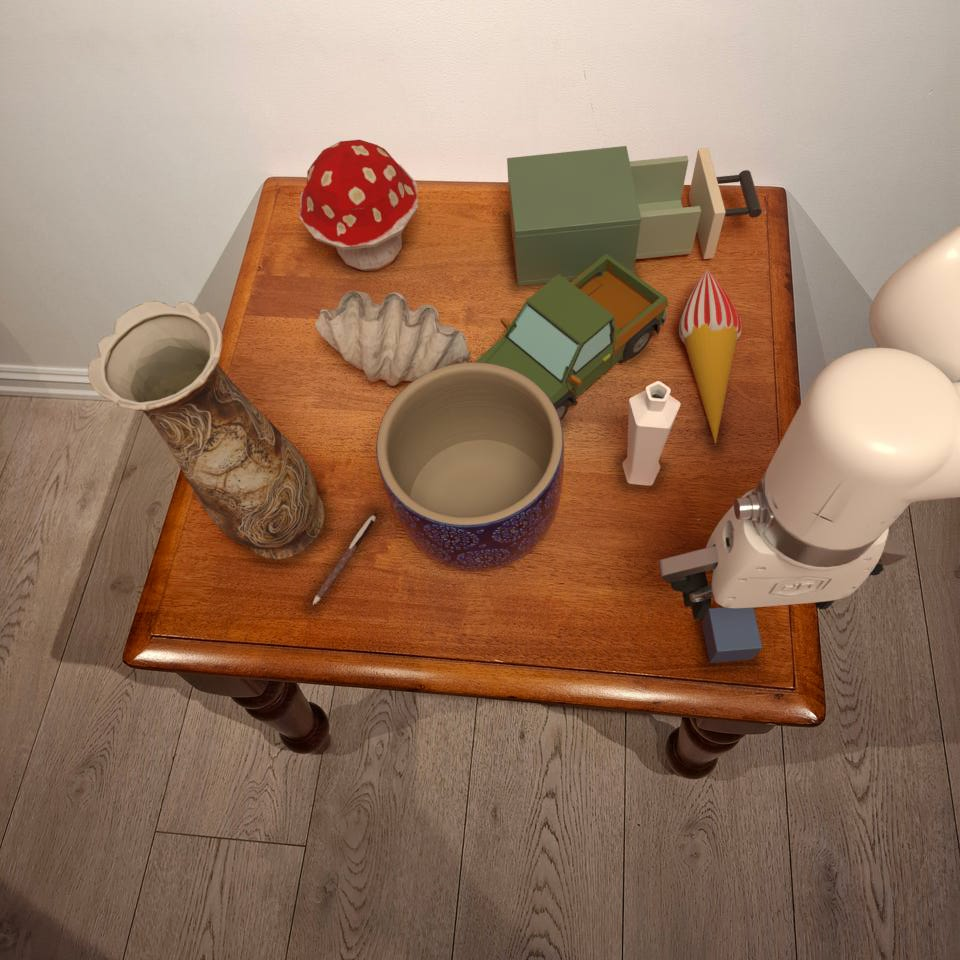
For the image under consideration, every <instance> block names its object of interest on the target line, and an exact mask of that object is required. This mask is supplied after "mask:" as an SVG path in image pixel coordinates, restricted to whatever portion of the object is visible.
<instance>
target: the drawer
mask: <svg viewBox="0 0 960 960" xmlns="http://www.w3.org/2000/svg"><path fill="white" fill-rule="evenodd" d="M629 161H630V160H629ZM688 165H689V156H688V155H679V156H670V157H660V158H650V159H641V160H640V159H639V160H631V161H630V166H631V171H632V176H633V181H634V186H635V191H636V196H637V201H638V205H639V210H640V215H641V224H640V231H639V238H638V245H637V252H636V259H635V260H640V259H641V260H643V259H652V258H662V257H673V256H682V255H691V254H693V250H694V243H695V240H696V236H697V238H698V241H699V245H700V249H701V250H700V251H701V254H702V258H703V260H706V259H707V260H708V259H715V254H716V251H717V246H718V243H719V239H720V236H721V231H722V229H723V228H722V227H723V223H724V220H725V218H726V217H727V218H728V217H736V216H746V215H748V216H749V217H750V218H751V219H754V218H758V217H760V216H761V214H762V212H763V211H762V207H761V203H760V200H759V196H758V193H757V189H756V187H755V183H754V180H753V176H752V172H751V171H750V170H749V169H745V170H744V169H743V170H742V171H740V172H739V173H738V174H734V175H733V174H732V175H723V176H717V174H716V171H715V166H714V163H713V159H712V155H711V152H710V148H709V147H701V148H698V149H697V153H696V159H695V163H694V168H693V173H692V178H691V182H690V187H689V192H688V200H689V203H690V206H686V207H683V204H682V196H683V190H684V185H685V181H686V176H687V170H688ZM733 183H734V184H735V183H739V185H740V188H741V192H742V195H743V198H744V203H745V206H746V207H745V206H744V207H734V208H725V204H724V201H723V197H722V193H721V190H720V186H719V185H722V184H733ZM696 234H697V235H696Z"/></svg>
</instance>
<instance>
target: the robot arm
mask: <svg viewBox="0 0 960 960" xmlns="http://www.w3.org/2000/svg"><path fill="white" fill-rule="evenodd" d="M868 315H869V316H868V326H869V331H870V334H871V336H872V339H873V341H874V343H875V345H876V346H877V347H868V348H861V349H856V350H853V351H850V352H848V353H846V354H843V355H841V356H840V357H837V358H836V359H834V360H832V361H831V362H830V363H829V364H827V365H826V366H825V367H824V368H823V369H822V370H821V371H820V372H819V373H818V374H817V376H816V377H815V378H814V380H813V382H812V383H811V384H810V386H809V388H808V390H807V392H806V393H805V395H804V396H803V399H802V401H801V403H800V405H799V406H798V409H797V410H796V412H795V414H794V416H793V418H792V419H791V422H790V424H789V425H788V428H787V430H786V431H785V434H783V437H782V439H781V440H780V443H779V445H778V446H777V449H776V451H775V453H774V455H773V457H772V459H771V461H770V462H769V464H768V465H767V468H766V469H765V471H764V473H763V475H762V477H761V478H760V479H759V481H758V484H757V485H756V487H755V488H753V489H750V490H748V491H747V492H746V493H744V494H743V495H742V496H741V497H735V499H733V500H734V501H733V505H732V506H731V507H730V508H729V509H728V510H727V511H726V513H725V514H724V516H723V517H722V518H721V519H720V520H719V521H718V524H717V525H716V526H715V528H714V530H713V532H712V533H711V535H710V536H709V539H708V541H707V543H706V546H705V548H702V549H701V548H700V549H697V550H693V551H690V552H689V551H688V552H686V553H682V554H679V555H674V556H671V557H667V558H662V559H660V560H658V562H657V563H658V570H659V576H660V578H661V580H662V581H664V582H665V583H666V584H669V585H670V587H671V590H673V591H675V592H679V593H682V599H683V604H684V607H686V608H687V607H691V612H692V617H693V620H703V618H704V616H705V614H706V613H707V611H708V609H709V608H711V605H712V598H713V599H714V601H715V603H716V604H717V605H719V606H721V607H726V608H752V607H754V608H763V607H764V608H765V607H777V606H778V607H779V606H789V605H790V606H791V605H803V604H812V603H813V604H815V608H817V609H818V610H828V608H830V607H831V605H832V604H833V603H834V602H835V601H836V600H837V601H838V600H841V599H845V598H848V597H850V596H851V595H852V594H853V593H854V592H855V591H857V590H858V589H859V588H860V587H861V585H863V583H864V582H865V581H866V580H867V579H868V577H870V576H878V575H880V574H881V573H882V572H883V571H884V566H888V567H889V566H890V565H893V564H895V563H898V562H899V561H901V560H904V559H906V558H908V555H907V552H906V551H907V550H906V547H905V545H904V542H903V539H900V538H893V537H888V535H889V531H890V526H891V525H892V524H893V523H894V522H895V521H896V520H897V519H898V518H899V517H900V516H901V515H902V514H903V512H904V511H905V510H907V508H908V507H909V506H910V505H911V504H912V503H916V502H924V501H933V500H943V499H955V498H960V224H959V225H957V226H956V227H954V228H953V229H951V230H950V231H948V232H947V233H945V234H944V235H942V236H940V237H939V238H938V239H936V240H935V241H934V242H932V243H930V244H929V245H927V246H926V247H924V248H923V249H922V250H921V251H919V252H918V253H916V255H914V256H913V257H911V258H910V259H909V260H907V261H906V262H905V263H904V264H903V265H901V266H900V267H899V268H898V269H897V270H895V271H894V273H892V274H891V276H890V277H889V278H888V279H887V280H886V281H885V283H883V285H882V286H881V287H880V289H879V290H878V291H877V293H876V295H875V296H874V298H873V301H872V302H871V305H870V309H869V314H868ZM707 571H710V572H711V584H709V582H708V577H707Z"/></svg>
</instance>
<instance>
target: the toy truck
mask: <svg viewBox="0 0 960 960" xmlns="http://www.w3.org/2000/svg"><path fill="white" fill-rule="evenodd" d="M668 300H669V299H668V297H667V296H666V295H664V294H663V293H661V292H660V291H659V290H658V289H656V288H654V287H653V286H652V285H650V284H649V283H648V282H646V281H645V280H643V279H642V278H641V277H639V276H638V275H637V274H635V272H634V273H632V272H631V271H630V270H628V269H627V268H625V267H624V266H623V265H621V264H620V263H619V262H617V261H616V260H614V259H613V258H612V257H610V256H609V255H608V254H605V255H604V256H602V257H601V258H600V259H599V260H597V261H596V262H595V263H594V264H592V265H591V266H590V267H589V268H588V269H586V270H585V271H584V272H583V273H581V274H580V275H579V276H578V277H576V278H575V279H574V280H573V281H568V280H567V279H565V278H564V277H563V276H561V275H560V274H558V275H557V276H556V277H555V278H553V279H552V280H551V281H550V282H549V283H546V284H544V285H543V286H542V287H541V288H539V289H538V290H537V291H536V292H535V293H533V294H532V295H531V296H530V297H528V298H527V299H526V300H525V302H524V304H523V305H522V307H521V308H520V310H519V311H518V313H517V314H516V315H515V317H514V319H513V320H512V322H511V323H510V322H509V321H508V319H507V318H506V317H504V316H502V317H500V323H501V324H502V326H503V328H504V329H505V330H506V331H505V332H504V334H503V335H502V337H500V339H498V340H497V341H496V342H495V343H494V344H493V345H491V347H490V348H488V349H487V350H486V351H485V352H484V353H482V355H480V356H479V357H478V358H477V359H476V360H475V361H474V362H480V363H490V364H495V365H500V366H503V367H506V368H509V369H512V370H514V371H516V372H519V373H520V374H522V375H524V376H526V377H527V378H529V379H530V380H532V381H533V382H534V383H536V384H537V385H538V386H539V387H540V388H541V389H542V390H543V391H544V392H545V393H546V395H547V396H548V397H549V398H550V400H551V401H552V403H553V404H554V406H555V408H556V410H557V412H558V415H559V417H560V420H561V421H562V420H563V419H564V417H565V416H566V414H567V412H568V410H569V408H570V404H572V406H575V407H576V406H577V404H578V403H579V402H578V400H577V398H578V397H579V396H580V395H581V394H583V393H584V392H585V391H586V390H587V389H589V387H591V386H592V385H593V384H594V383H595V382H596V381H598V380H599V379H600V378H601V377H602V376H603V375H604V374H606V373H607V372H608V371H609V370H610V369H611V368H613V367H614V366H615V365H616V364H617V363H619V362H620V361H622V362H627V361H629V359H632V358H635V357H636V356H638V355H639V354H640V353H641V352H642V351H644V349H645V348H646V346H647V345H648V344H649V342H650V340H651V339H652V338H653V337H652V336H653V333H655V334H656V335H659V333H660V330H661V328H660V327H661V325H662V326H664V324H665V323H666V320H667V312H666V309H667V308H668V307H669V306H670V305H669V301H668Z"/></svg>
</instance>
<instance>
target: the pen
mask: <svg viewBox="0 0 960 960" xmlns="http://www.w3.org/2000/svg"><path fill="white" fill-rule="evenodd" d="M377 515H378V513H377V512H375V513H374V514H373V515H370V516H369V517H368V518H367V520H366V521H365V522H364V523H363V525H362V527H360V529H359V531H358V532H357V533H356V535H355V536H354V537H353V539H352V541H351V542H350V544H349V545H348V547H347V548H346V550H345V551H344V553H343V554H342V556H341V557H340V559H339V560H338V561H337V563H336V565H334V567H333V569H332V570H331V572H330V573H329V575H328V576H327V578H326V579H325V581H324V582H323V583H322V585H321V586H320V588H319V589H318V591H317V592H316V593H315V596H314V599H313V601H312V606H314V605H316V604H318V602H320V600H322V598H323V597H324V596H325V595H326V593H327V592H328V590H329V588H330V587H331V586H332V584H333V583H334V582H335V580H336V579H337V577H338V576H339V574H340V573H341V572H342V570H343V569H344V567H345V566H346V564H347V563H348V562H349V560H350V559H351V557H352V556H353V555H354V553H355V552H356V550H357V549H358V548H359V546H360V545H361V543H362V542H363V540H364V538H365V537H366V535H367V534H368V532H369V531H370V529H371V528H372V527H373V525H374V523H375V522H376V520H377V519H376V518H377Z"/></svg>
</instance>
